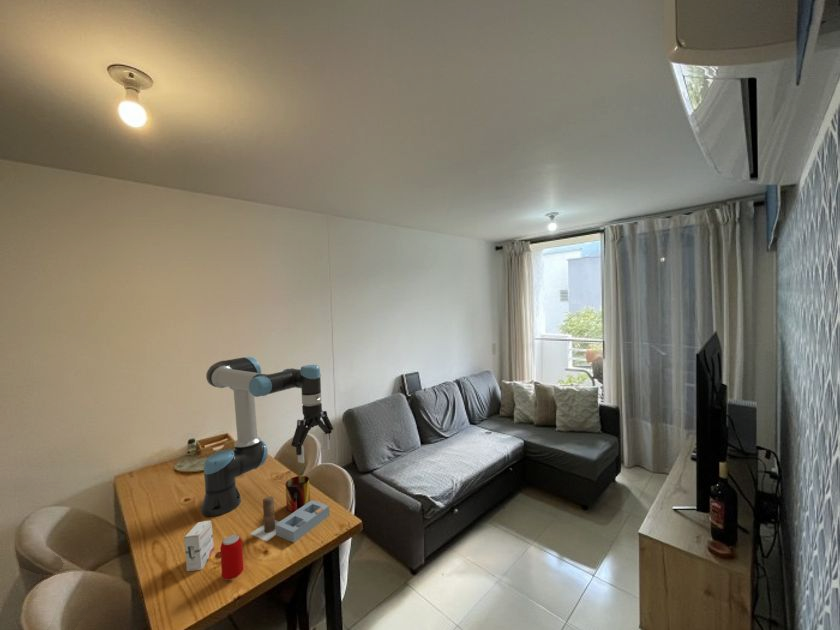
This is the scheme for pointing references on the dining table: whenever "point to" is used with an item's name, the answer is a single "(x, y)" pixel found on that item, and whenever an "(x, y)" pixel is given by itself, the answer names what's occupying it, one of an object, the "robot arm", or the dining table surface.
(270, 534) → the white flat square
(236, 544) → the beverage can
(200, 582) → the dining table surface
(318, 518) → the socket block
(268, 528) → the plug
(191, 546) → the ink box
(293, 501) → the mug
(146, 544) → the dining table surface
